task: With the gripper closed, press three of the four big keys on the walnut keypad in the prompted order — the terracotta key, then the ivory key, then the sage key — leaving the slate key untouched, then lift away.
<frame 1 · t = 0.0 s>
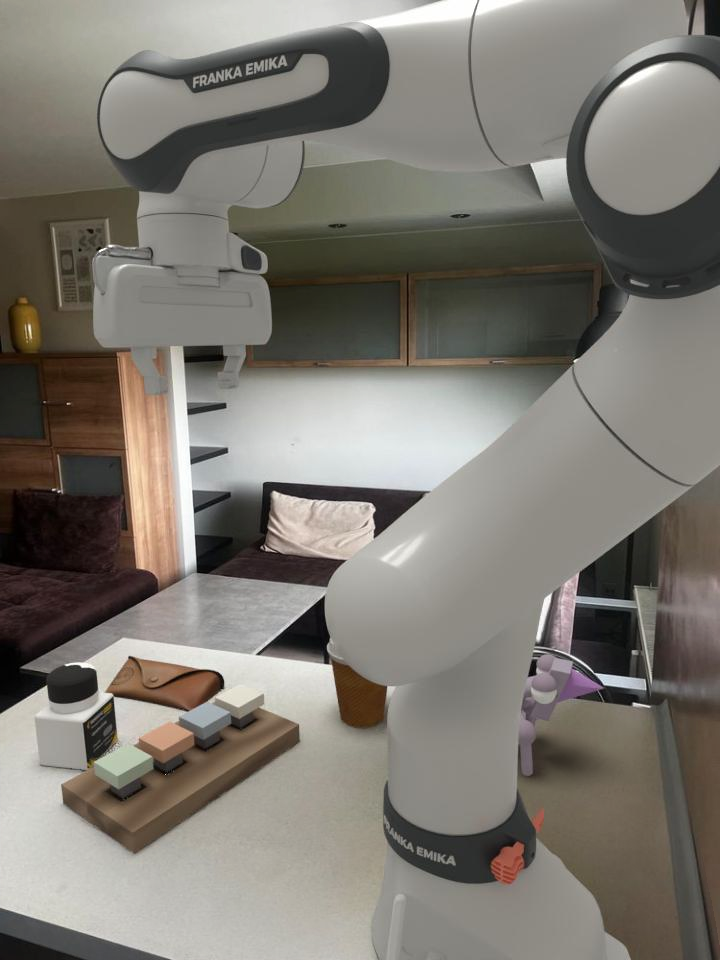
hand: (194, 391, 72), 48 cm above the table, tool pointing down, fingers open, 8 cm apart
key slate: (205, 727, 89), point 4 cm above the table, slide at 0.0 cm
purple toy figure: (518, 756, 90), on the table, touching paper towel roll
key terracotta: (167, 749, 85), point 4 cm above the table, slide at 0.0 cm
key sage: (124, 774, 80), point 4 cm above the table, slide at 0.0 cm
key ivory: (240, 708, 94), point 4 cm above the table, slide at 0.0 cm
medicine bottle: (80, 754, 92), on the table
sunglasses case: (162, 695, 108), on the table
keypad board: (189, 770, 88), on the table
disposable coffee cup: (362, 717, 100), on the table
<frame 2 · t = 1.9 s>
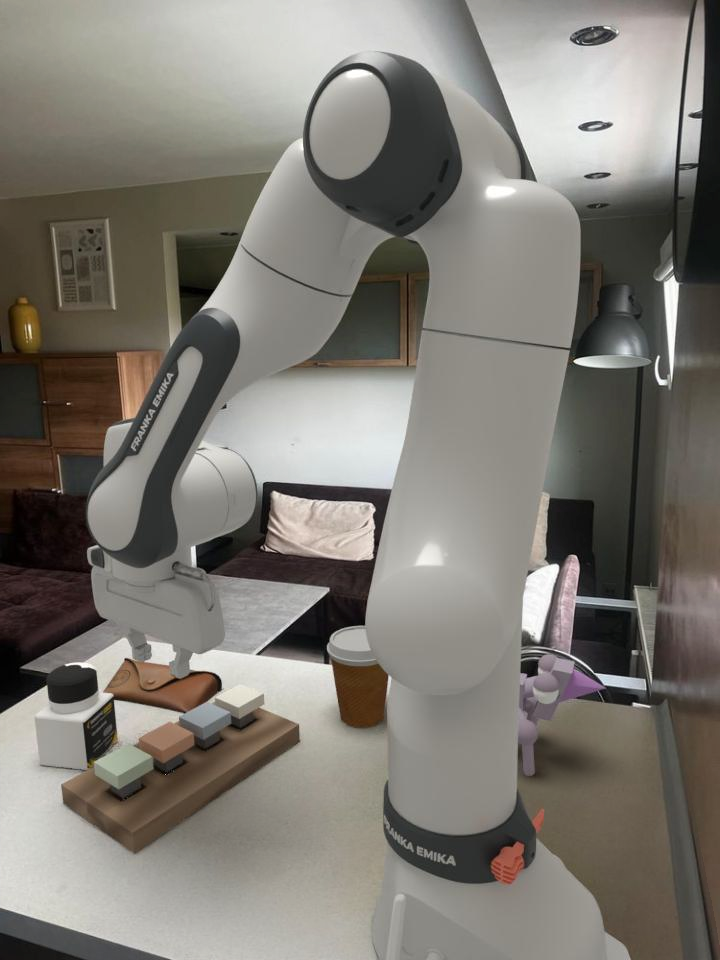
hand: (160, 667, 83), 15 cm above the table, tool pointing down, fingers open, 6 cm apart
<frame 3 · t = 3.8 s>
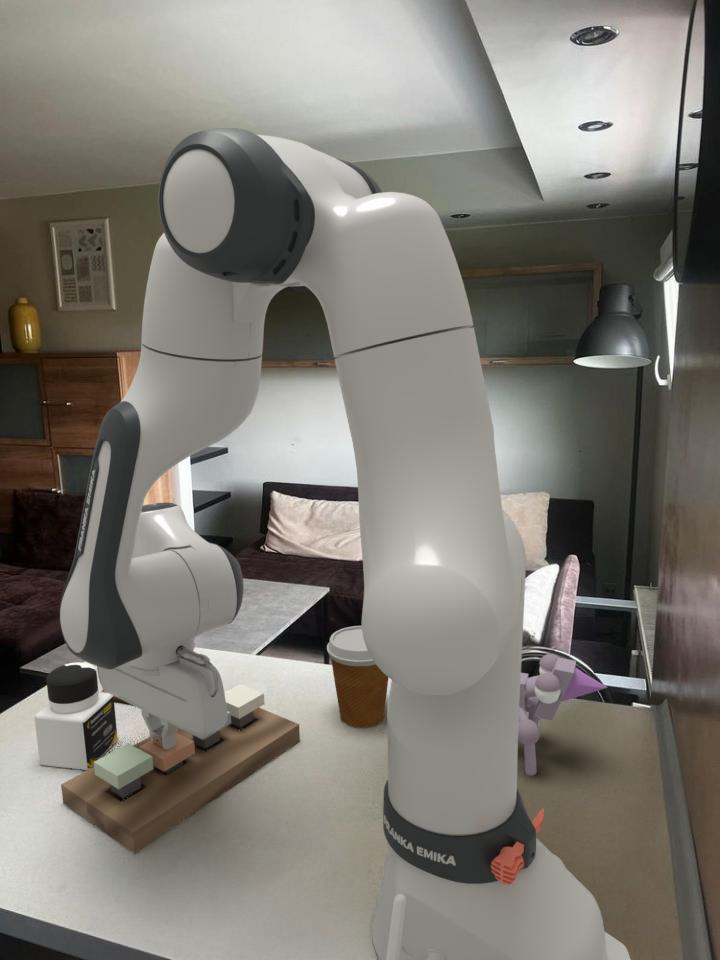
hand: (163, 743, 85), 5 cm above the table, tool pointing down, fingers closed, pressing on key terracotta
key terracotta: (168, 758, 85), point 3 cm above the table, slide at 1.1 cm, touching gripper
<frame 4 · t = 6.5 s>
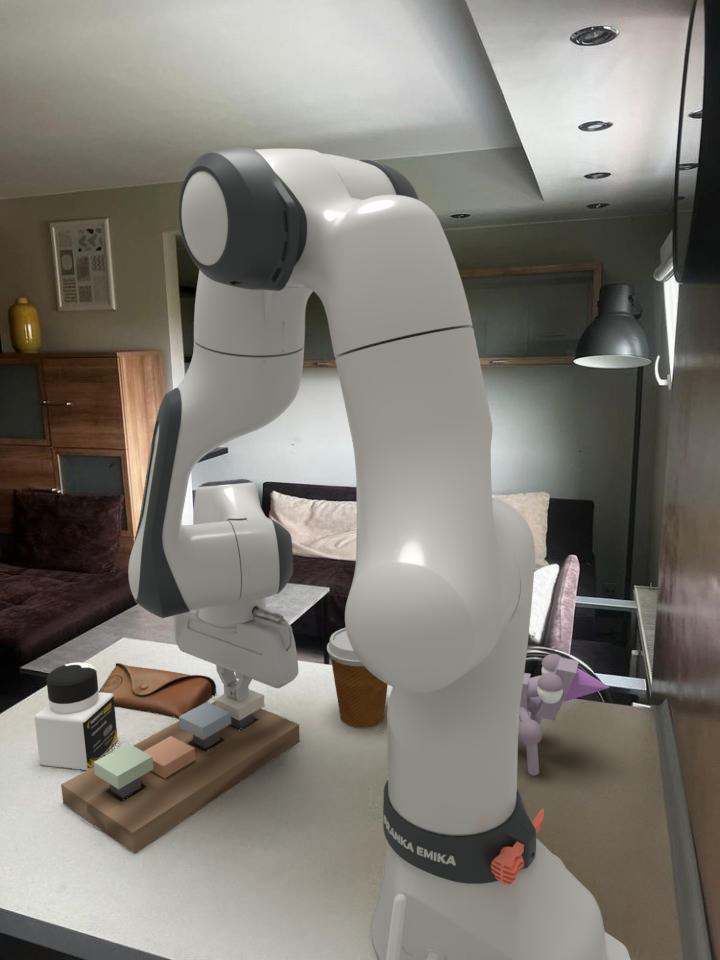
hand: (236, 696, 94), 6 cm above the table, tool pointing down, fingers closed
key terracotta: (168, 764, 85), point 2 cm above the table, slide at 2.0 cm
key ivory: (240, 710, 94), point 4 cm above the table, slide at 0.3 cm, touching gripper
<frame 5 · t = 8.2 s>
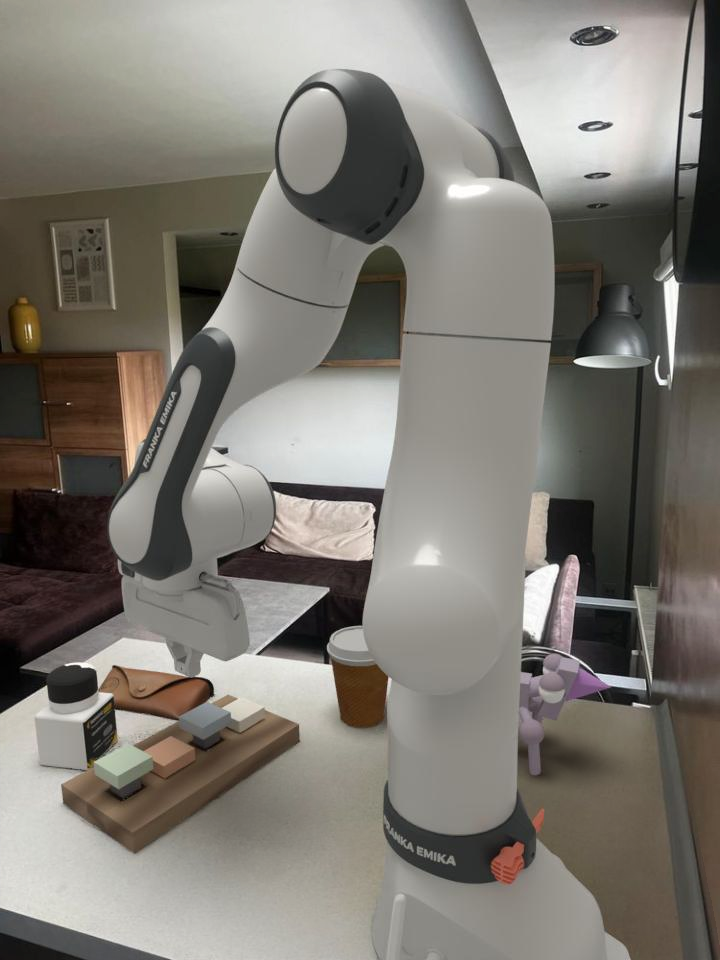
hand: (187, 673, 86), 13 cm above the table, tool pointing down, fingers closed
key ivory: (241, 721, 94), point 2 cm above the table, slide at 2.0 cm
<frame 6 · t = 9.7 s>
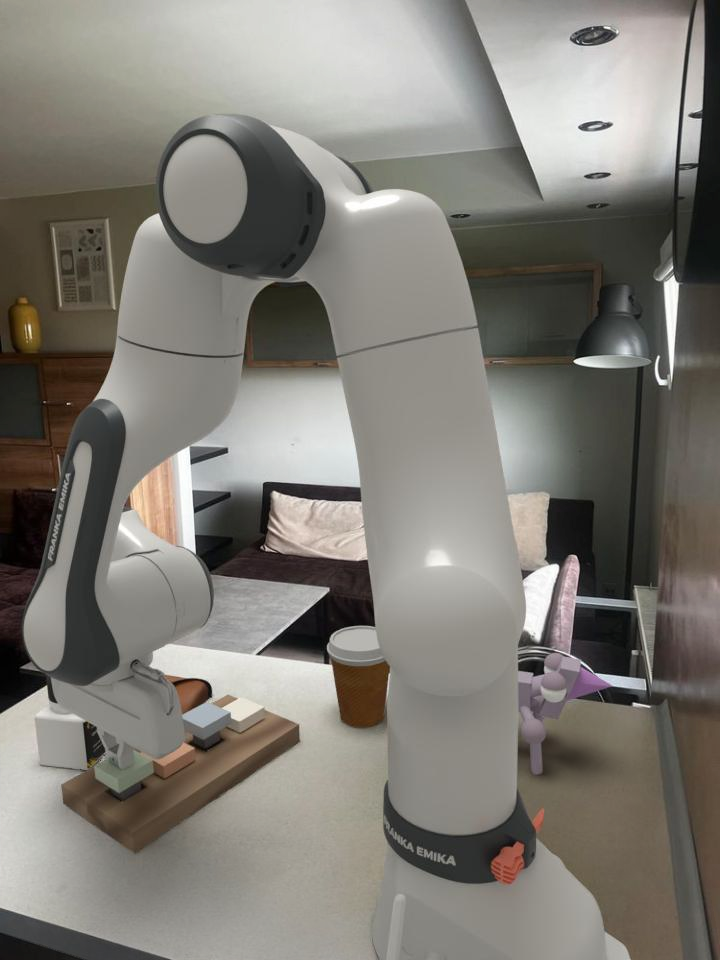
hand: (120, 762, 80), 6 cm above the table, tool pointing down, fingers closed
key sage: (125, 777, 80), point 4 cm above the table, slide at 0.5 cm, touching gripper
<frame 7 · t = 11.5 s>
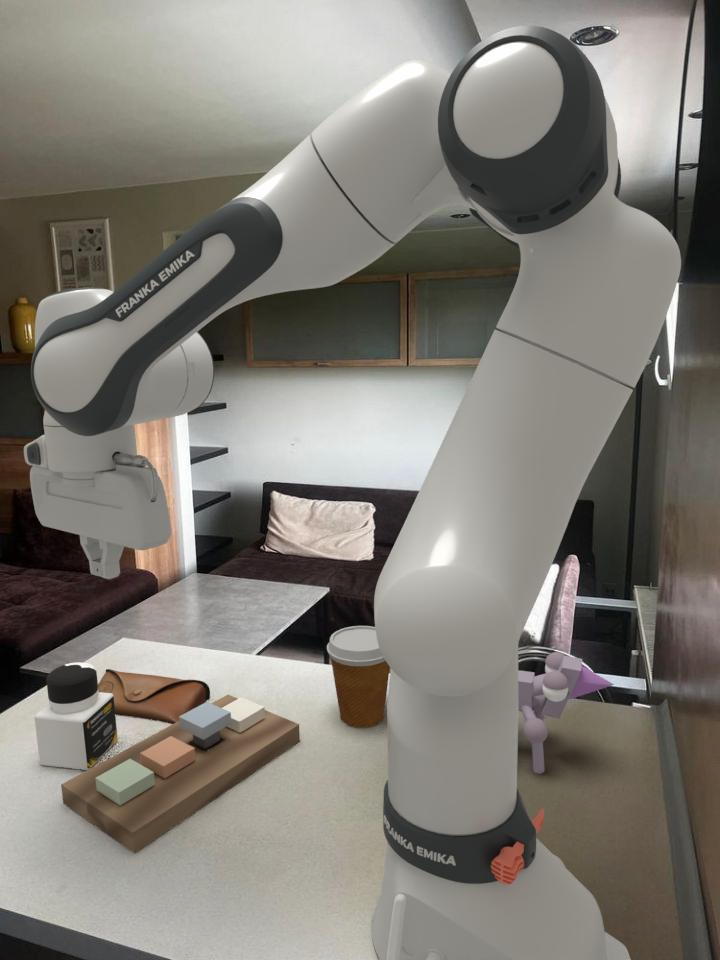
hand: (105, 575, 75), 28 cm above the table, tool pointing down, fingers closed
key sage: (126, 789, 80), point 2 cm above the table, slide at 2.0 cm
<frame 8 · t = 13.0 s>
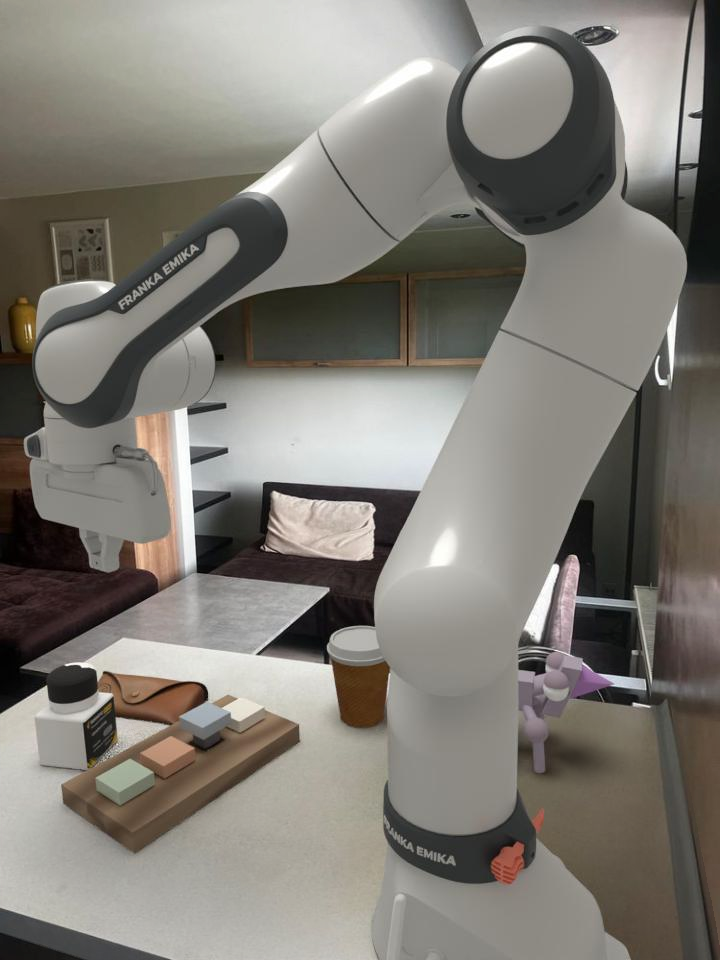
hand: (104, 569, 75), 29 cm above the table, tool pointing down, fingers closed
at the end: key terracotta slide at 2.0 cm; key ivory slide at 2.0 cm; key sage slide at 2.0 cm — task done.
